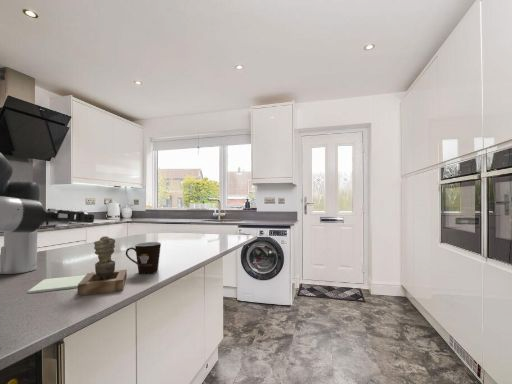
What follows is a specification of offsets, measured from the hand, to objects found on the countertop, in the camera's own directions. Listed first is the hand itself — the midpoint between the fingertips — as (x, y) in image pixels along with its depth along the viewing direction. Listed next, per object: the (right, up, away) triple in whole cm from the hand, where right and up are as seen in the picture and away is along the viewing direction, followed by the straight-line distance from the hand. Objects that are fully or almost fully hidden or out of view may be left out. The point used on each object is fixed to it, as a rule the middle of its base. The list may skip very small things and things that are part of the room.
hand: (81, 219), depth 71 cm
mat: (-13, -21, +9) cm, 26 cm away
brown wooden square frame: (+2, -21, +6) cm, 22 cm away
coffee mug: (+8, -21, +23) cm, 32 cm away
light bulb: (+2, -21, +6) cm, 22 cm away
